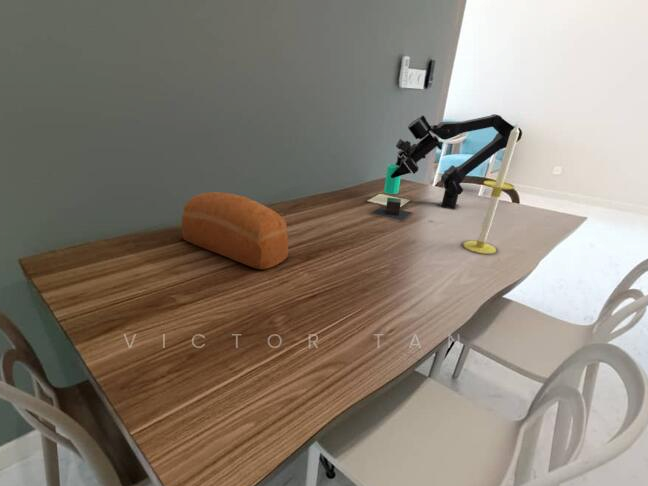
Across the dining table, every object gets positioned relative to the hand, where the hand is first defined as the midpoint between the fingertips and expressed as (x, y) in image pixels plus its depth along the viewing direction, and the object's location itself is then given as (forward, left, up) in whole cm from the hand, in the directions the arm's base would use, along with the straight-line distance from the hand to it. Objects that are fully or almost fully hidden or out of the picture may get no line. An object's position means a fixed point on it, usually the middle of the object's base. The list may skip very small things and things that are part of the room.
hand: (390, 175), depth 160 cm
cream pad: (-1, +1, -11) cm, 11 cm away
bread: (+77, -17, -11) cm, 80 cm away
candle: (-1, +1, -7) cm, 7 cm away
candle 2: (+27, +43, -11) cm, 52 cm away
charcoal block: (+14, +8, -10) cm, 19 cm away
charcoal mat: (+14, +8, -11) cm, 20 cm away
